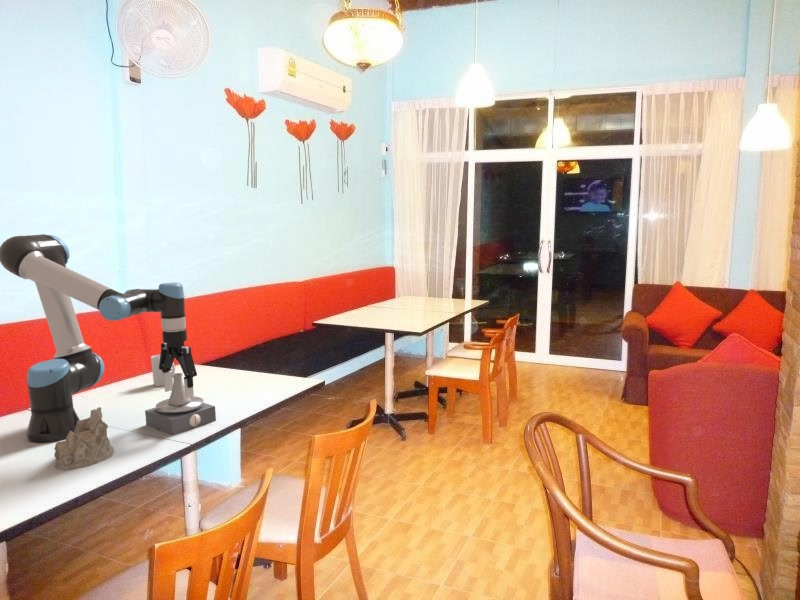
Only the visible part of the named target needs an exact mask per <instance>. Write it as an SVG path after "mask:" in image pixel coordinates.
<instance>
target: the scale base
mask: <svg viewBox="0 0 800 600" xmlns="http://www.w3.org/2000/svg"><path fill="white" fill-rule="evenodd" d="M144 413H145V426H149V427H151V428H154V429H157V430H159V431H161V432H164V433H167V434H170V435H172V436H174V435H177V434H180V433H184V432H185V431H189V430H192V429H195V428H198V427H200V426H203V425H206V424H209V423H212V422H215V421H217V417H216V406H215V405H212V404H209V403H205V402H204V404H203V405H202V406H201V407H200V408H197V409H195V410H192V411H188V412H182V413H161V412H158V411H157V410H156V406H155V407H152V408H149V409H145V410H144Z"/></svg>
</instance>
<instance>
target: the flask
mask: <svg viewBox="0 0 800 600" xmlns="http://www.w3.org/2000/svg"><path fill="white" fill-rule="evenodd" d="M183 374H184V373H183V372H182V373H181V372H176V373H174V374H173V375H172V377H173V388H172V390H171V393H170V395H169V398H168V399H169V402H168V405H173V406H177V405H185V404H187V403H190V401H191V399H190V397H188V398H185V388H184V380H183Z"/></svg>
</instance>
